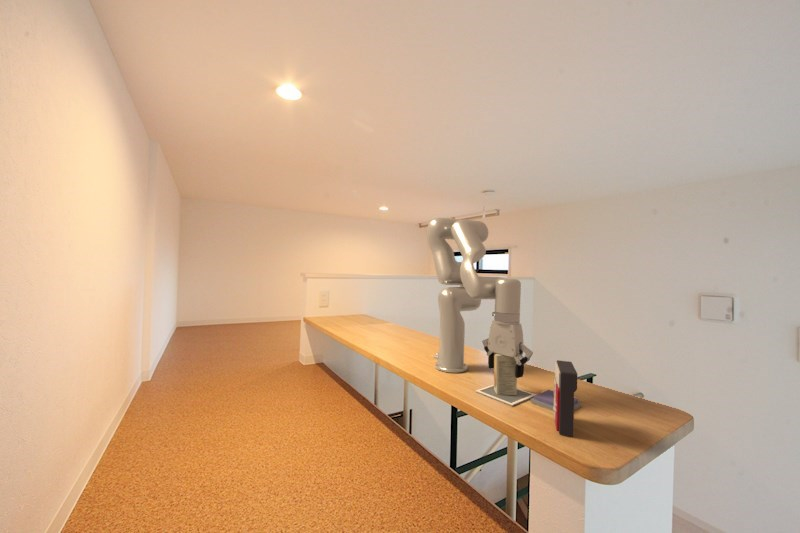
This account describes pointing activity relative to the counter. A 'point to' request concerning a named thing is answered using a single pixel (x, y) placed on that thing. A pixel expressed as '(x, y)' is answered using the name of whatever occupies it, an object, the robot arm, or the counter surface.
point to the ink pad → (549, 400)
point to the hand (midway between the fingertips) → (505, 372)
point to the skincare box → (504, 375)
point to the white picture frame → (506, 396)
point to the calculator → (564, 397)
